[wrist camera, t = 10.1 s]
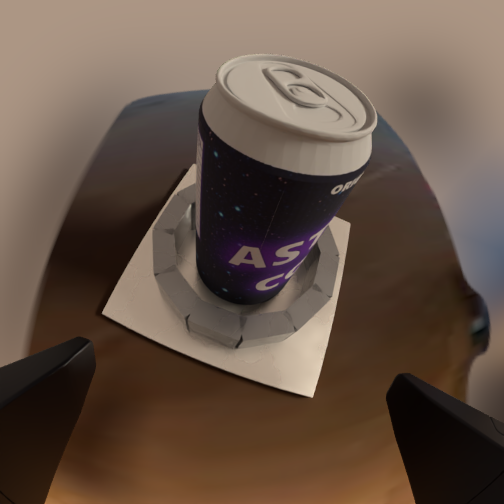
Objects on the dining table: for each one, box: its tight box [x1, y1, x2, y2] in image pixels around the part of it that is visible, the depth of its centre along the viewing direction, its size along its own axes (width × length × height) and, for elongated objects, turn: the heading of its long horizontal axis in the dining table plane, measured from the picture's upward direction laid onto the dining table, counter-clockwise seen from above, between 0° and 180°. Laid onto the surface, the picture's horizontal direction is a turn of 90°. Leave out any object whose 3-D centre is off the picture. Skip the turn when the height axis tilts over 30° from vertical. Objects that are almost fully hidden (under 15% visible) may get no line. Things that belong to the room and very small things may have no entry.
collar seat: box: [102, 164, 350, 398], centre depth 17 cm, size 13×13×3 cm
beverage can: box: [196, 54, 377, 305], centre depth 12 cm, size 6×6×12 cm
